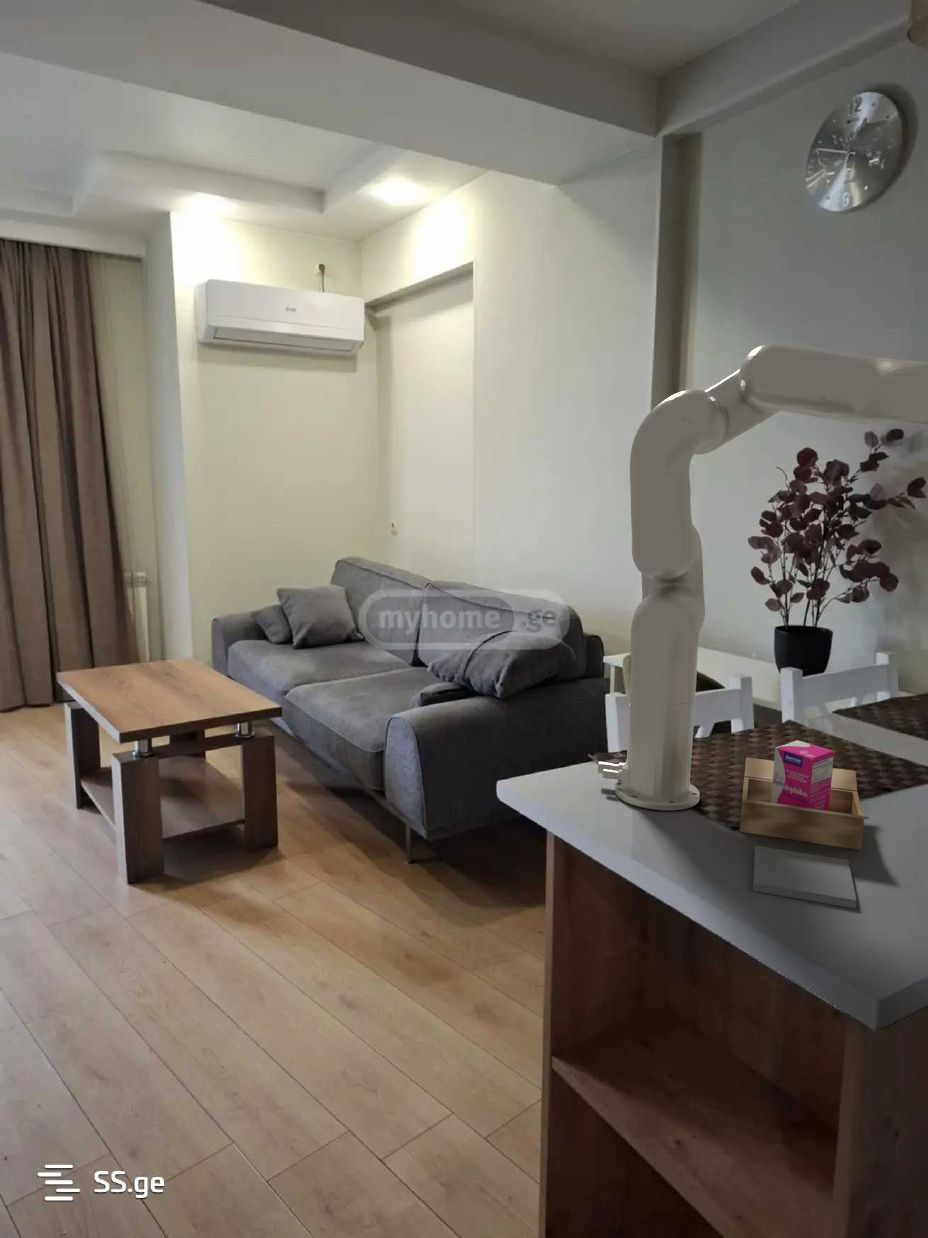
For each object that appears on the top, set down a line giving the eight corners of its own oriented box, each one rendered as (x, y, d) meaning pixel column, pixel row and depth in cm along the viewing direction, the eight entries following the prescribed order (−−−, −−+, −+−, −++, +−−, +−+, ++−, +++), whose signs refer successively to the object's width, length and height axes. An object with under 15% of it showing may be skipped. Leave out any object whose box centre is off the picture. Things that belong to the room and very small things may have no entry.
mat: (752, 890, 98) (753, 882, 97) (754, 853, 108) (755, 845, 108) (855, 908, 94) (856, 900, 94) (847, 867, 104) (848, 860, 104)
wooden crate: (738, 843, 111) (741, 799, 110) (743, 795, 128) (746, 757, 127) (864, 863, 105) (869, 817, 104) (851, 810, 123) (855, 770, 122)
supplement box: (767, 824, 117) (773, 746, 115) (791, 815, 121) (797, 739, 119) (804, 838, 113) (812, 757, 111) (828, 829, 116) (836, 750, 114)
